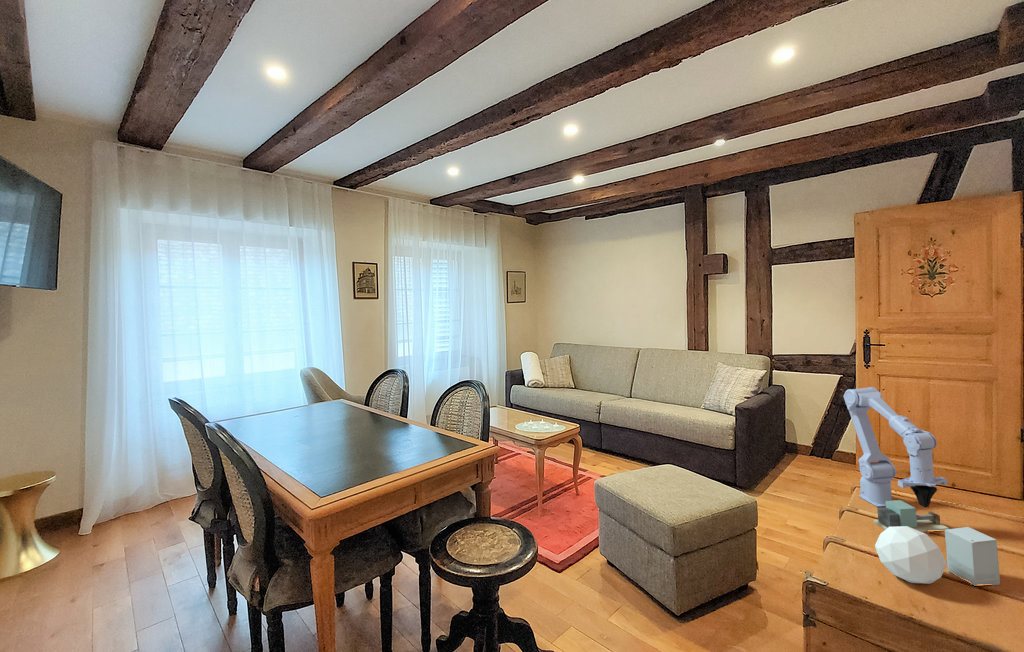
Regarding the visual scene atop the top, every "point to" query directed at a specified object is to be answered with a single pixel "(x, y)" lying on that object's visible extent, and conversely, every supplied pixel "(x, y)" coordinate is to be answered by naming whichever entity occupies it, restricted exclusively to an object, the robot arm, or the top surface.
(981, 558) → the supplement box
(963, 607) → the top surface
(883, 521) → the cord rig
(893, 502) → the sleeve
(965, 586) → the top surface
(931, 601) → the top surface
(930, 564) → the geometric sphere
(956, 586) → the top surface
